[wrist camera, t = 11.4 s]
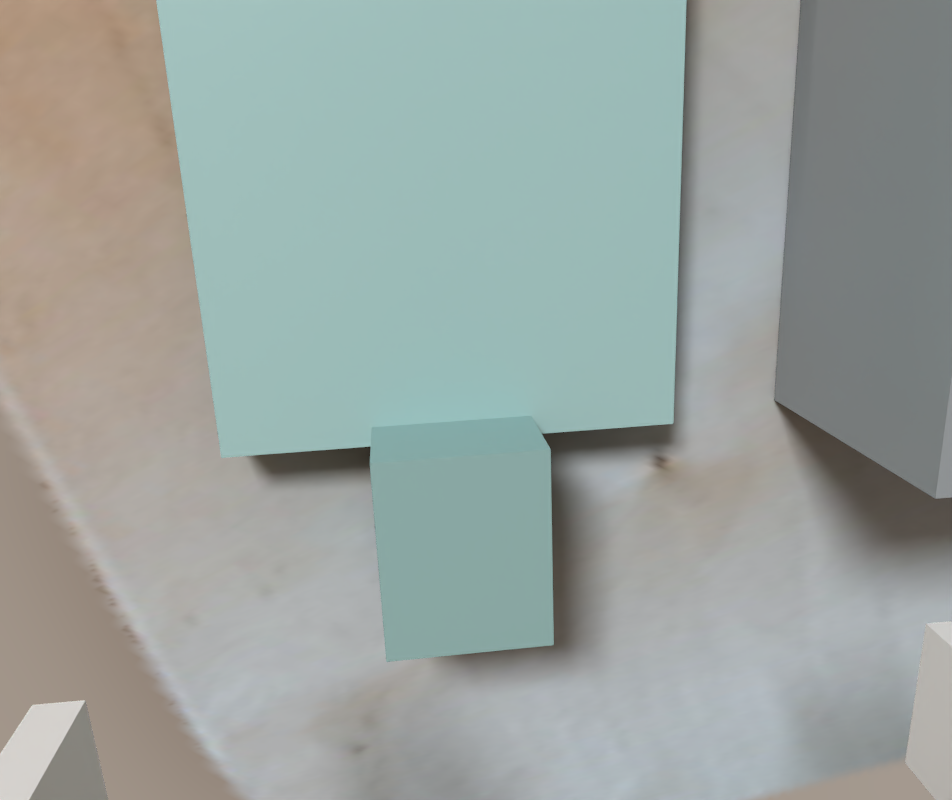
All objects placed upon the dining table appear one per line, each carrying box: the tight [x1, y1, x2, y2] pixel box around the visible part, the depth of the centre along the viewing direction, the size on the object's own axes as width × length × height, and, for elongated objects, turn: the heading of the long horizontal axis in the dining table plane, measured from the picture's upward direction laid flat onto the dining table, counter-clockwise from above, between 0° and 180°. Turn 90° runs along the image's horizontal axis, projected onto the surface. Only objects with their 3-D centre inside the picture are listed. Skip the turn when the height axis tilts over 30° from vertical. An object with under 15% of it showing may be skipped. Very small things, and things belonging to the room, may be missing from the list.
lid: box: [156, 0, 687, 662], centre depth 18 cm, size 21×11×4 cm, turn 2°
